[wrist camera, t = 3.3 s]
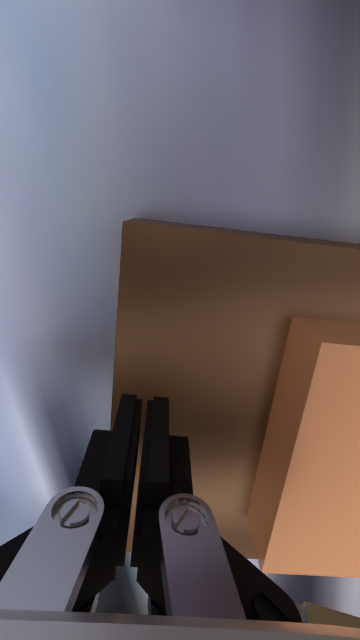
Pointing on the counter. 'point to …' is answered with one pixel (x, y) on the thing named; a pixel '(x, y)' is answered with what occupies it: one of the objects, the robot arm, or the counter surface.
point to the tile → (311, 456)
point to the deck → (219, 342)
